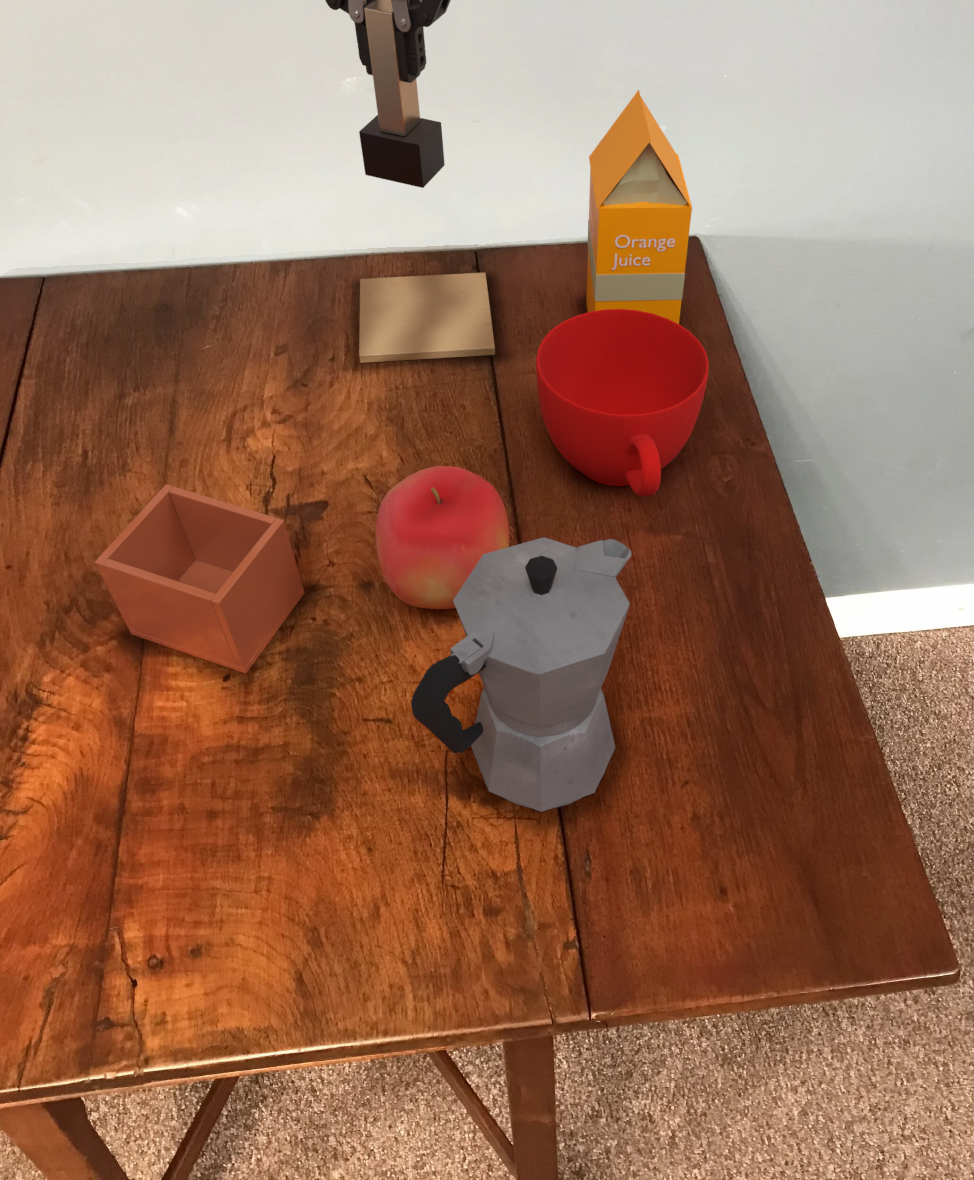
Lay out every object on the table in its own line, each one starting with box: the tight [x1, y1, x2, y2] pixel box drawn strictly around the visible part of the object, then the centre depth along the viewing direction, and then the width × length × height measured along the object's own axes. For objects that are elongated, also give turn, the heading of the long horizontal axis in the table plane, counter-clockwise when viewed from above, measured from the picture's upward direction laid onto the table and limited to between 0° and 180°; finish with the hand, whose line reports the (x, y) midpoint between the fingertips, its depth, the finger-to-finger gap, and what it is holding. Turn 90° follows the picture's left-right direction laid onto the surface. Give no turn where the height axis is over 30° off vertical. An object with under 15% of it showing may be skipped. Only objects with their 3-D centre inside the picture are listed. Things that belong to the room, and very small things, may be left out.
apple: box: [374, 465, 511, 610], centre depth 71 cm, size 10×10×10 cm
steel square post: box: [358, 0, 446, 189], centre depth 79 cm, size 5×4×13 cm
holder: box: [94, 483, 306, 674], centre depth 70 cm, size 9×8×8 cm
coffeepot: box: [410, 536, 632, 813], centre depth 59 cm, size 15×9×18 cm, turn 135°
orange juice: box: [585, 89, 693, 325], centre depth 88 cm, size 8×9×20 cm
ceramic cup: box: [535, 309, 709, 497], centre depth 79 cm, size 13×17×10 cm
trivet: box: [358, 272, 496, 364], centre depth 95 cm, size 12×12×1 cm
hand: (394, 73), depth 78 cm, fingers closed on steel square post, 2 cm apart
